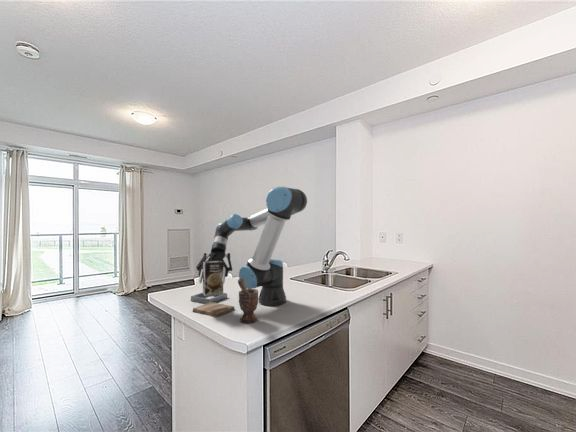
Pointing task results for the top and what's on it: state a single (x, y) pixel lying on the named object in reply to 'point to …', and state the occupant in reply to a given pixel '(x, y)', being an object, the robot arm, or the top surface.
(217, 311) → the walnut board
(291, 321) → the top surface
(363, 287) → the top surface
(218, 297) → the holder ring
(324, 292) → the top surface
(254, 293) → the mortar and pestle
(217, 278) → the coffee box
